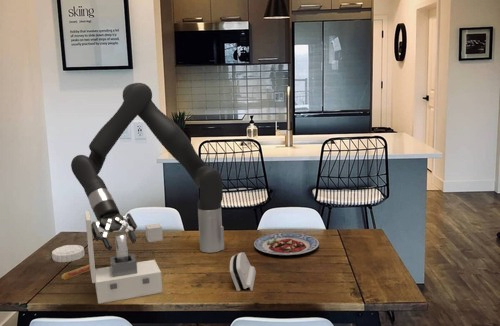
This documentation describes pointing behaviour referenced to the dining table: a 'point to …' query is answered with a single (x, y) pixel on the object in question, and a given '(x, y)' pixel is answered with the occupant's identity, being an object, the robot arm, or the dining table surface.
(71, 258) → the mooncake
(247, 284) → the white rounded block
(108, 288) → the white fixture base
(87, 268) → the chocolate bar
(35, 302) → the dining table surface
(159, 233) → the grey cube
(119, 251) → the rod
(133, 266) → the socket
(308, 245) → the ceramic plate
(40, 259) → the dining table surface
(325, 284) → the dining table surface
